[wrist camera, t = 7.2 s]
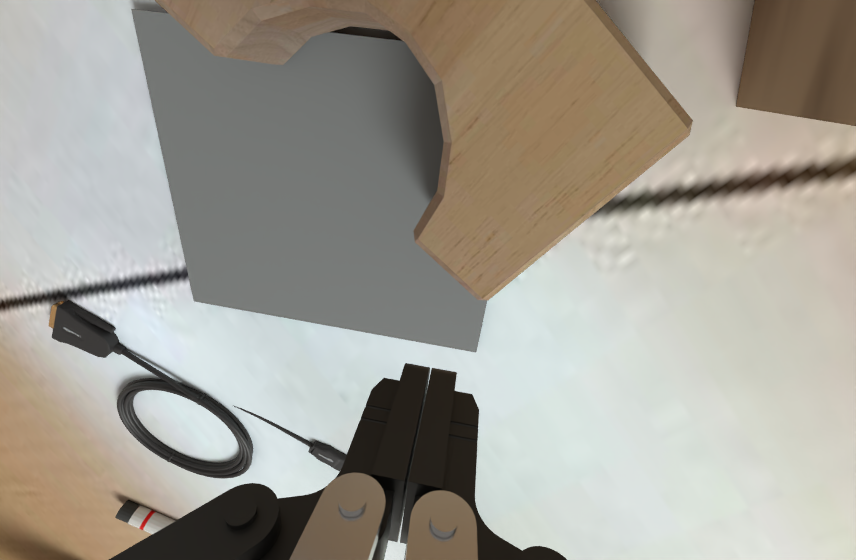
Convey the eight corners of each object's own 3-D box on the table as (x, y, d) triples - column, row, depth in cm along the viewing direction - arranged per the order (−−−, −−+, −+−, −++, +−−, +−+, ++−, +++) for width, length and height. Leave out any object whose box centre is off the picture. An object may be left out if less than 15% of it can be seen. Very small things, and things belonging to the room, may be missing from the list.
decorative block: (480, 309, 19) (110, -33, 15) (484, 262, 24) (208, -3, 20) (705, 129, 14) (251, -434, 10) (651, 117, 19) (333, -264, 15)
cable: (302, 518, 43) (296, 532, 42) (50, 386, 39) (34, 397, 37) (360, 456, 37) (355, 470, 35) (67, 291, 32) (48, 300, 31)
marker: (128, 504, 47) (114, 521, 45) (130, 496, 46) (115, 513, 44) (248, 556, 48) (239, 575, 46) (252, 550, 47) (243, 568, 46)
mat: (537, 57, 19) (538, 57, 19) (476, 348, 28) (476, 352, 28) (139, 10, 21) (131, 9, 21) (198, 297, 30) (193, 301, 29)
